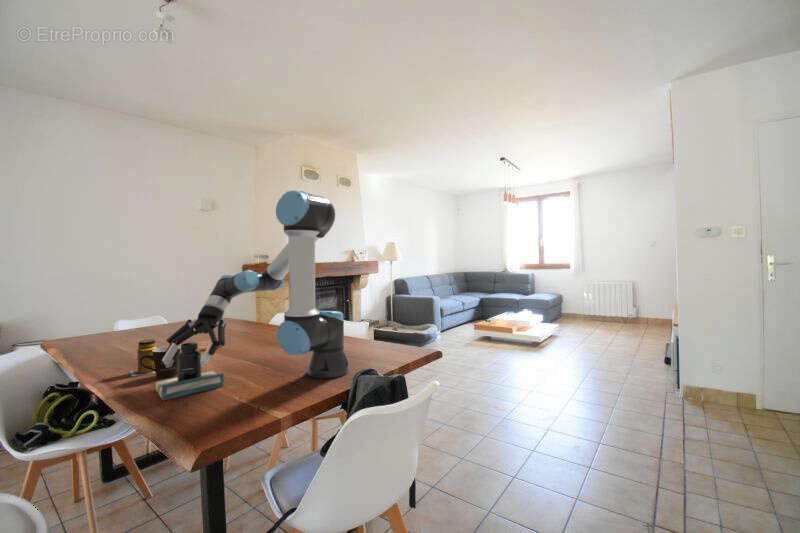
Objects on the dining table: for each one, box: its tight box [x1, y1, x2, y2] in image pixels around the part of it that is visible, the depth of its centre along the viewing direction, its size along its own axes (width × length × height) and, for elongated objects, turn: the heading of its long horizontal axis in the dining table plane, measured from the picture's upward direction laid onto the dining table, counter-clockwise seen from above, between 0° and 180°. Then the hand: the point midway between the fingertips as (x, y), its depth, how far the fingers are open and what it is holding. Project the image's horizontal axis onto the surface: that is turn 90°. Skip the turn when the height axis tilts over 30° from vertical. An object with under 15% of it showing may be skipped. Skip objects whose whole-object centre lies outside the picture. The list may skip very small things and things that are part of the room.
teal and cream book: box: [155, 370, 224, 401], centre depth 115 cm, size 13×17×4 cm
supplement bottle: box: [176, 342, 202, 382], centre depth 116 cm, size 7×7×12 cm
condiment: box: [129, 339, 158, 377], centre depth 133 cm, size 7×8×12 cm
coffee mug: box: [140, 345, 181, 380], centre depth 128 cm, size 12×9×10 cm
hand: (184, 363), depth 113 cm, fingers open, 13 cm apart
